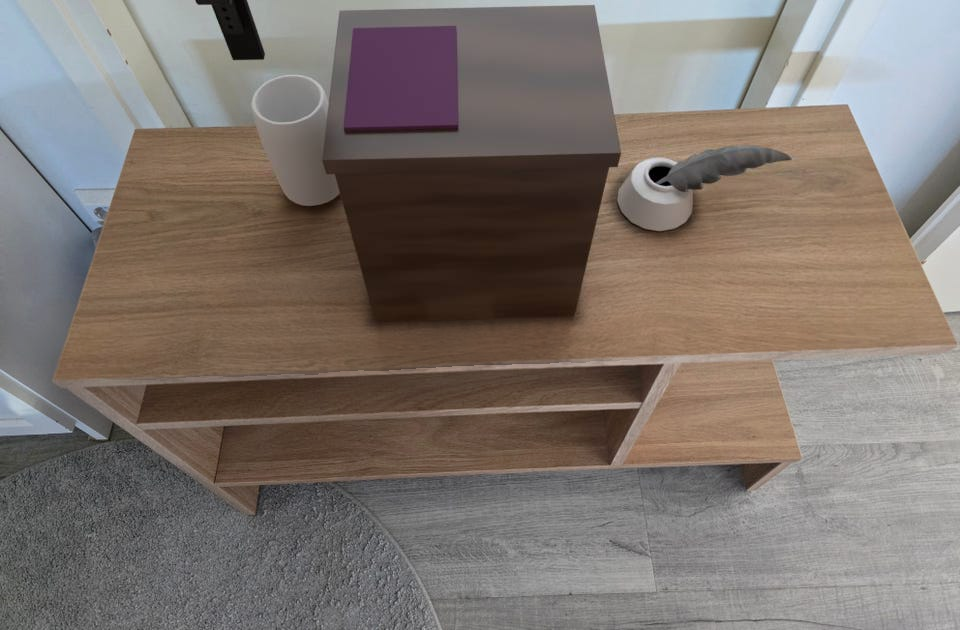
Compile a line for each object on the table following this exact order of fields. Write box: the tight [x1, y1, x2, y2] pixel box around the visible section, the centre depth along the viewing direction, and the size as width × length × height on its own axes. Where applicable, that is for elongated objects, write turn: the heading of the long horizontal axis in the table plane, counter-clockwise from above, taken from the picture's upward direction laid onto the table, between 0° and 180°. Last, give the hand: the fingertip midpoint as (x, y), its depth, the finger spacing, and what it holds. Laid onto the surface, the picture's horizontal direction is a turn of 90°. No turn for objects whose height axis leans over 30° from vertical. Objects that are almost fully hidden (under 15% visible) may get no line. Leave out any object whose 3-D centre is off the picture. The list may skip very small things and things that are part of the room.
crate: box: [322, 4, 622, 323], centre depth 68 cm, size 18×23×26 cm
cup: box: [250, 74, 340, 207], centre depth 78 cm, size 8×8×14 cm
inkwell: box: [616, 144, 793, 232], centre depth 79 cm, size 9×18×10 cm, turn 90°
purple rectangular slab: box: [343, 26, 458, 131], centre depth 56 cm, size 12×9×1 cm
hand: (260, 7), depth 63 cm, fingers open, 13 cm apart
